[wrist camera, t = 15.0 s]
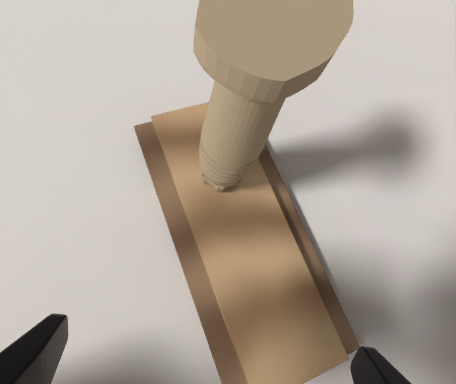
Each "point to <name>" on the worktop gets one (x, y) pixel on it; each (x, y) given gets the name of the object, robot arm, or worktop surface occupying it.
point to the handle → (258, 71)
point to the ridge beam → (245, 262)
